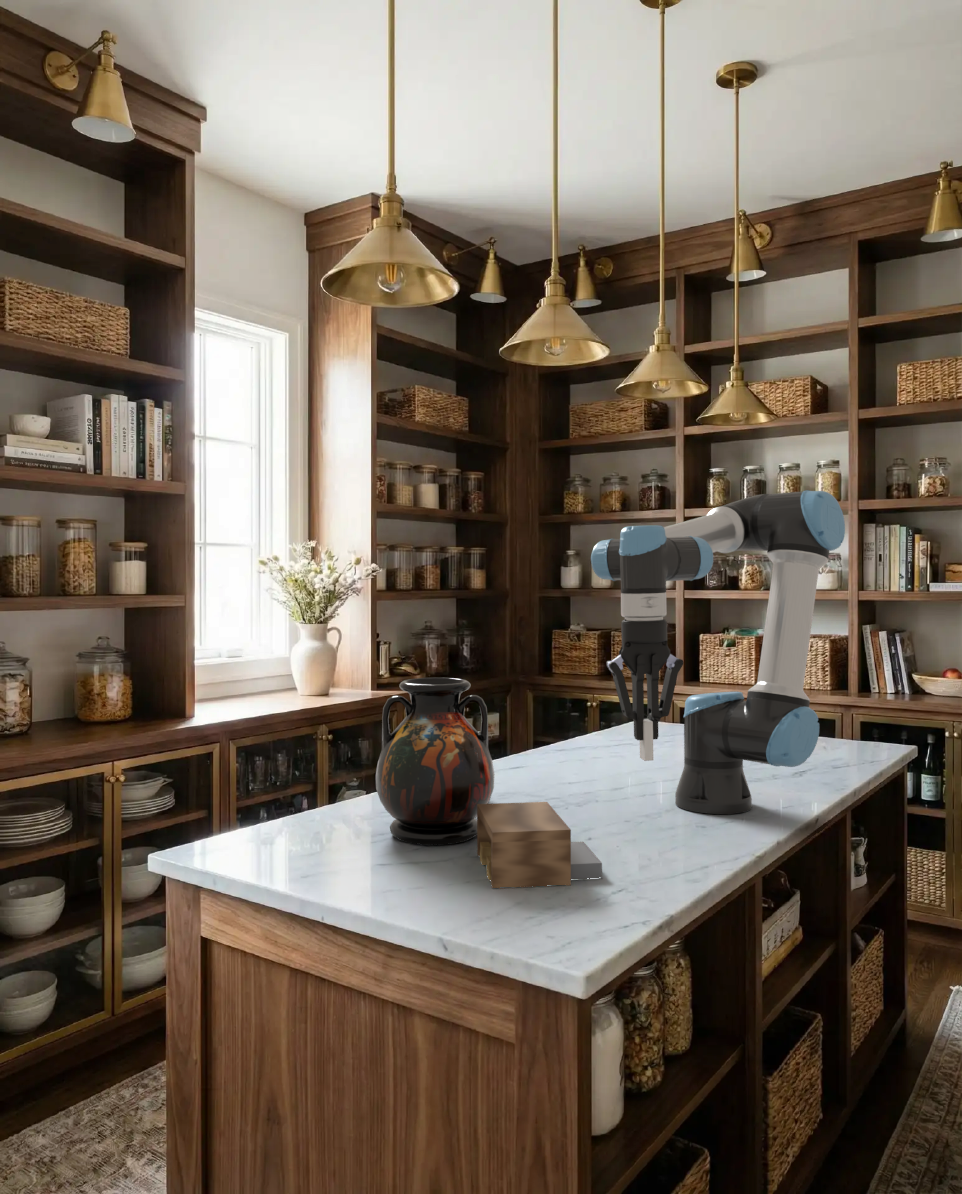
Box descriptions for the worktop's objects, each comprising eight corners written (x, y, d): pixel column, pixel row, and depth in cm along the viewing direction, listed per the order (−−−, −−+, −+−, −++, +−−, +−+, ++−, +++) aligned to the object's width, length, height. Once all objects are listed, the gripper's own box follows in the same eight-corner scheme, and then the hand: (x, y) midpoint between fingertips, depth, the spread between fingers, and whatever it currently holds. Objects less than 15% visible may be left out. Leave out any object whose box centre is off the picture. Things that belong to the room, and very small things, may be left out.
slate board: (583, 859, 161) (583, 841, 161) (602, 882, 149) (602, 862, 149) (489, 863, 159) (489, 845, 158) (500, 886, 147) (500, 867, 147)
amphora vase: (372, 853, 163) (371, 688, 162) (379, 820, 184) (378, 675, 183) (498, 851, 164) (498, 687, 163) (490, 818, 185) (490, 674, 185)
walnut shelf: (547, 851, 163) (547, 801, 163) (570, 885, 146) (570, 829, 145) (477, 854, 162) (477, 804, 162) (492, 888, 144) (492, 832, 144)
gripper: (612, 621, 155) (615, 766, 156) (689, 618, 157) (692, 761, 158) (599, 618, 162) (602, 756, 163) (674, 615, 164) (676, 752, 165)
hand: (646, 758), depth 160 cm, fingers closed
